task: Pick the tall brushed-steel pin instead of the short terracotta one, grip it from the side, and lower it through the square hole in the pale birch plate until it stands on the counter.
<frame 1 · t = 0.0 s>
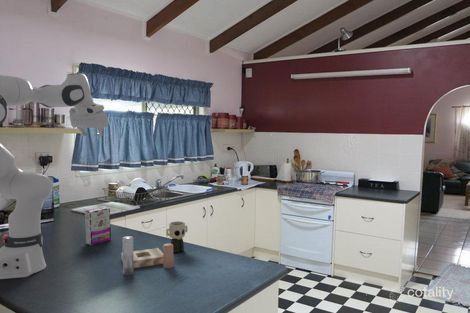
hand: (92, 136, 184), 52 cm above the countertop, tool tilted 20°, fingers open, 8 cm apart
steel pin: (128, 272, 151), on the countertop
candy bar box: (98, 242, 190), on the countertop
hole plate: (143, 261, 163), on the countertop
terracotta pin: (168, 266, 158), on the countertop
character mug: (177, 251, 177), on the countertop
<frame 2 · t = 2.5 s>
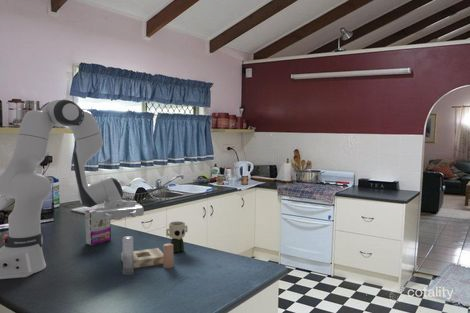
hand: (122, 216, 160), 20 cm above the countertop, tool horizontal, fingers open, 8 cm apart
nothing on the countertop moved.
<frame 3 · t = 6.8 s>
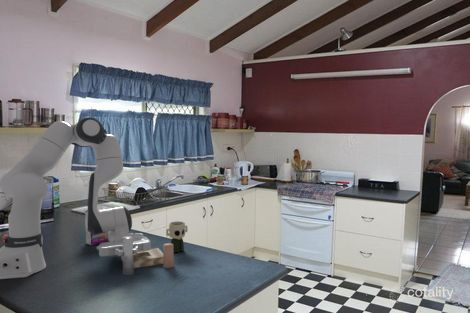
hand: (128, 252, 149), 8 cm above the countertop, tool horizontal, fingers closed on steel pin, 4 cm apart
steel pin: (128, 272, 151), on the countertop, touching gripper
everything else where it was.
when the fingers open (9 cm above the countertop, at t = 12.9 s): steel pin stays where it is, resting in hole plate.
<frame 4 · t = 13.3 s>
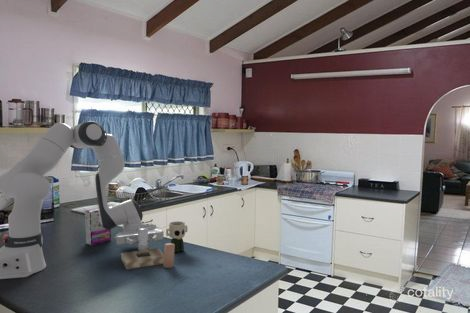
hand: (143, 241, 162), 9 cm above the countertop, tool horizontal, fingers open, 8 cm apart
steel pin: (143, 261, 163), resting in hole plate
everything else where it was.
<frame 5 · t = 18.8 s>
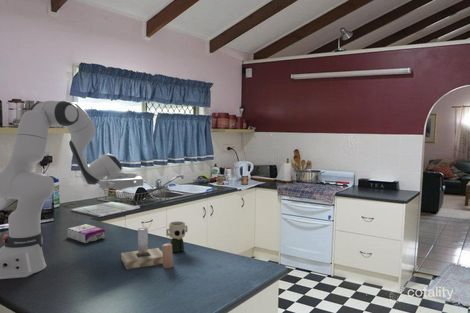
hand: (124, 184, 177), 30 cm above the countertop, tool horizontal, fingers open, 8 cm apart
candy bar box: (95, 236, 191), point 2 cm above the countertop
at the end: steel pin 0.0 cm off-centre on the hole plate, point 0.0 cm above the hole plate's base; steel pin tilted 0°; terracotta pin moved 0.2 cm from its start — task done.
